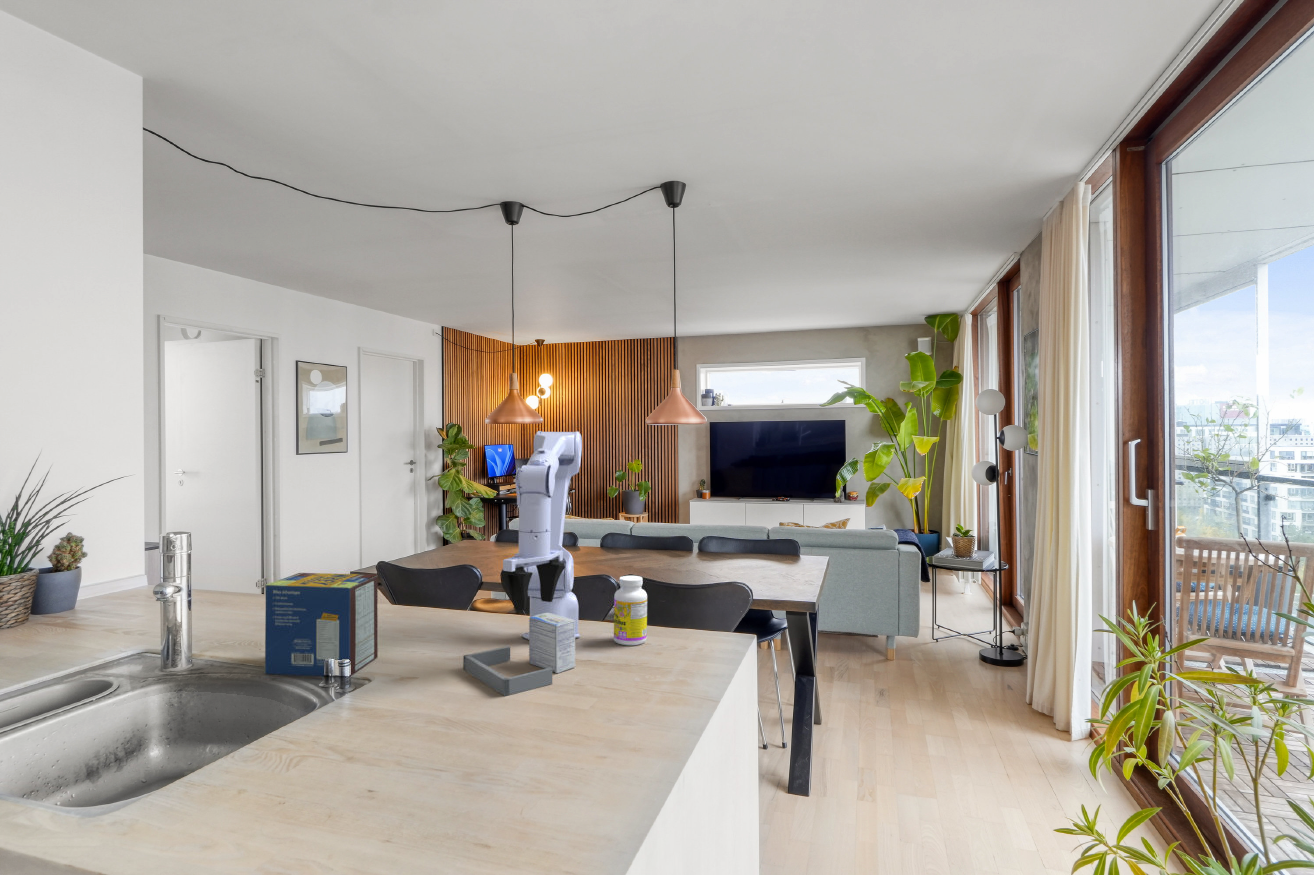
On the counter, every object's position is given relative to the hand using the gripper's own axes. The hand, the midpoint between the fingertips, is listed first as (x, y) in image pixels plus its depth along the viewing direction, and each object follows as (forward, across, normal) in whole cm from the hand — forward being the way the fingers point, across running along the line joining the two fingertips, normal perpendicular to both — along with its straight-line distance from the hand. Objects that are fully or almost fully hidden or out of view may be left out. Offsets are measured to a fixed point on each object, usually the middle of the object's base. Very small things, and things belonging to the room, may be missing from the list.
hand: (533, 605), depth 127 cm
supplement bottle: (+10, -20, +8) cm, 24 cm away
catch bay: (+10, +8, +1) cm, 13 cm away
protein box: (+11, +21, -30) cm, 38 cm away
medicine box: (+11, 0, +4) cm, 11 cm away
